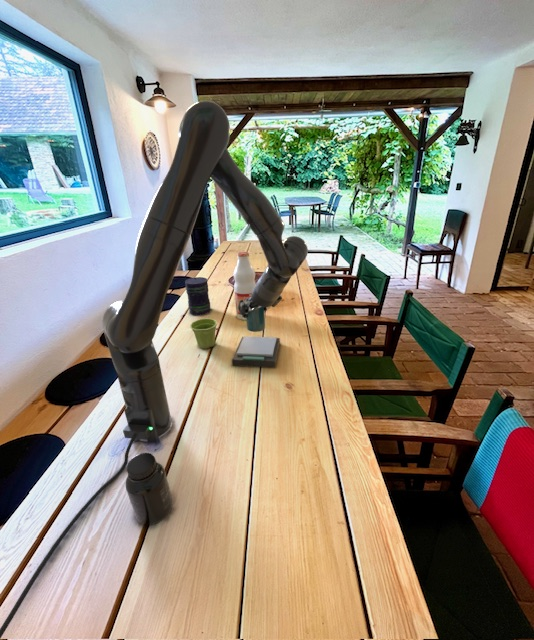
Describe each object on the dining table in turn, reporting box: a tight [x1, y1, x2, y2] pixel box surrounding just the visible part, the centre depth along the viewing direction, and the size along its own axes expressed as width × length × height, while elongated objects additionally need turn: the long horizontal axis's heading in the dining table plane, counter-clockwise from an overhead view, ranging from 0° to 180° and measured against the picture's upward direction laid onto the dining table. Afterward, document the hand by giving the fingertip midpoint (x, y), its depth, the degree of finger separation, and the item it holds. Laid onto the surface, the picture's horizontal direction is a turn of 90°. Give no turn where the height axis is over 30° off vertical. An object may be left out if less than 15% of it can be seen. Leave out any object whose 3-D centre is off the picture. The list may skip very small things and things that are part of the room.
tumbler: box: [245, 297, 266, 333], centre depth 105 cm, size 6×6×10 cm
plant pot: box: [190, 318, 218, 350], centre depth 117 cm, size 9×9×9 cm
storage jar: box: [184, 276, 212, 317], centre depth 146 cm, size 10×10×15 cm
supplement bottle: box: [125, 452, 173, 526], centre depth 58 cm, size 7×7×12 cm
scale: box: [231, 336, 281, 369], centre depth 111 cm, size 16×14×3 cm
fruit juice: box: [232, 251, 257, 321], centre depth 136 cm, size 9×9×28 cm
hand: (253, 313), depth 107 cm, fingers closed on tumbler, 6 cm apart
